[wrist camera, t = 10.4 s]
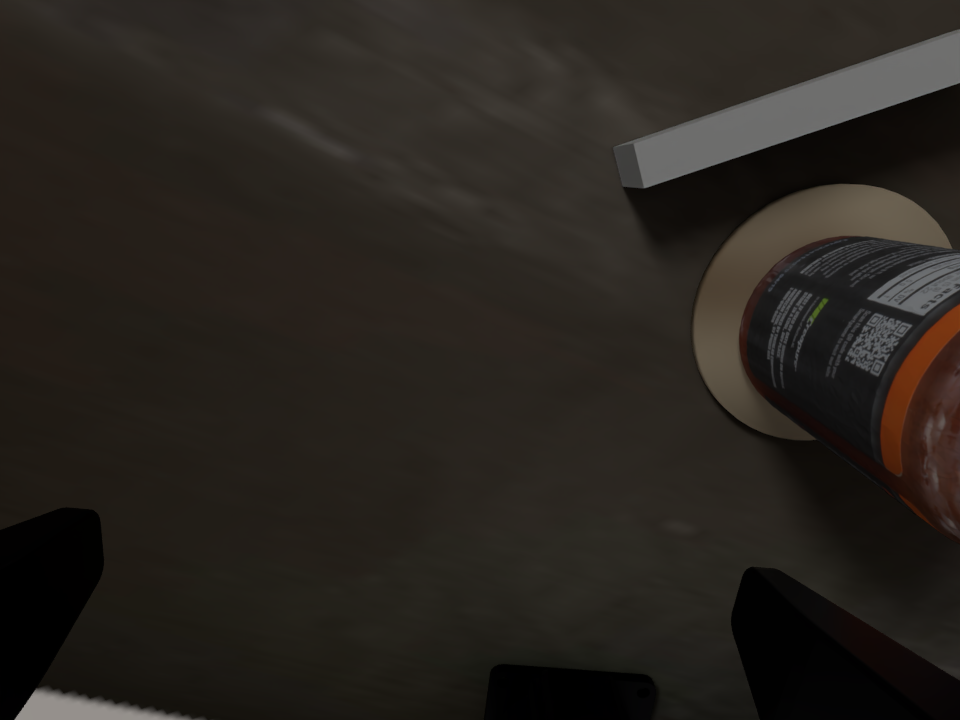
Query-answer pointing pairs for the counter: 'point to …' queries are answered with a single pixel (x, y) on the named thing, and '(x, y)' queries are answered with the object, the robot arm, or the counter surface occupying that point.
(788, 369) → the supplement bottle
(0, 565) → the robot arm
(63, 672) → the counter surface
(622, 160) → the grey rectangular bar
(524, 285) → the counter surface
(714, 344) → the oak coaster
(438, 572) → the counter surface
